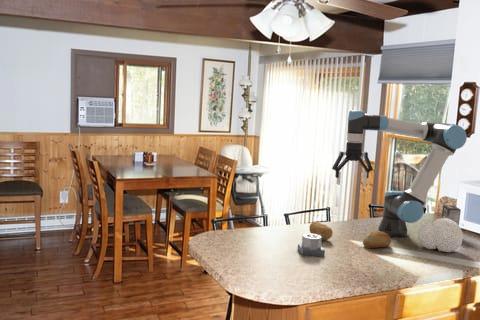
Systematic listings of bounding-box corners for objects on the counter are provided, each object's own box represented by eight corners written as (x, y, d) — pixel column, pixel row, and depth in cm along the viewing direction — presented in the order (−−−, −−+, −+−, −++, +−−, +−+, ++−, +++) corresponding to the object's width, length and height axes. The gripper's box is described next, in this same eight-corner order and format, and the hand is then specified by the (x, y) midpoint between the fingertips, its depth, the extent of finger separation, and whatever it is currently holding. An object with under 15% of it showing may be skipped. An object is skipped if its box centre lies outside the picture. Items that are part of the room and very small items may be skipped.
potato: (322, 244, 229) (323, 228, 228) (304, 236, 241) (305, 221, 240) (337, 242, 234) (338, 226, 233) (319, 234, 246) (320, 219, 245)
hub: (317, 244, 219) (318, 233, 219) (322, 249, 211) (323, 238, 211) (300, 243, 218) (301, 233, 218) (304, 249, 210) (305, 238, 210)
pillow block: (318, 250, 220) (319, 233, 219) (324, 256, 211) (325, 239, 210) (297, 249, 219) (298, 233, 218) (302, 256, 210) (303, 239, 209)
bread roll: (396, 249, 229) (397, 233, 228) (370, 251, 223) (372, 235, 222) (382, 243, 237) (384, 227, 236) (358, 245, 231) (359, 229, 230)
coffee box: (439, 233, 261) (442, 204, 258) (450, 233, 261) (454, 205, 258) (445, 238, 252) (449, 208, 249) (458, 238, 251) (461, 209, 249)
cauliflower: (466, 231, 234) (453, 207, 228) (470, 257, 220) (456, 232, 214) (425, 241, 244) (412, 218, 238) (427, 266, 230) (413, 243, 224)
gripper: (375, 141, 238) (372, 183, 241) (327, 140, 235) (324, 182, 238) (381, 143, 231) (378, 186, 234) (332, 142, 227) (329, 185, 230)
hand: (351, 184), depth 236 cm, fingers open, 13 cm apart
